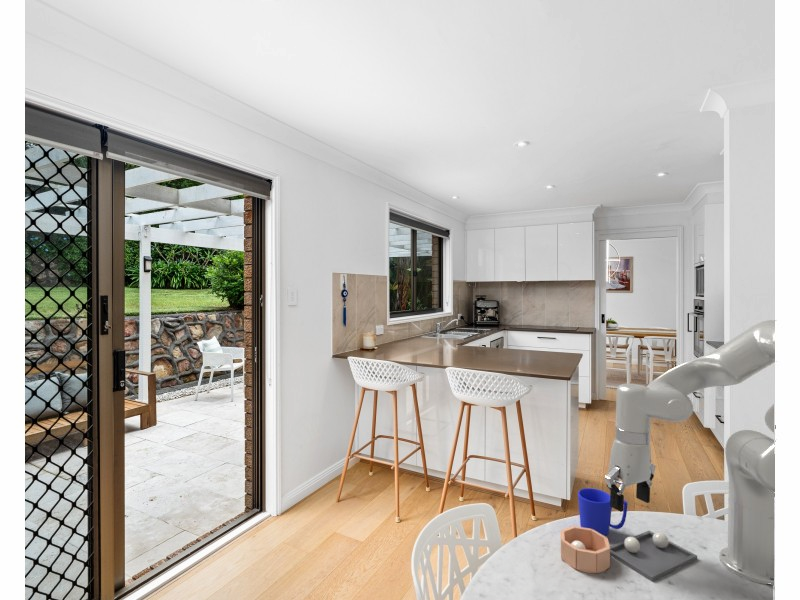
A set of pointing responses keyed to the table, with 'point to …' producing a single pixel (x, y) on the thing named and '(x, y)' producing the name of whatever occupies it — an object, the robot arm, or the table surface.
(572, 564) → the bowl
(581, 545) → the white ball
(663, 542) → the white ball
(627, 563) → the tray
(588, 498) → the mug
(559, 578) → the table surface
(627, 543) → the white ball
